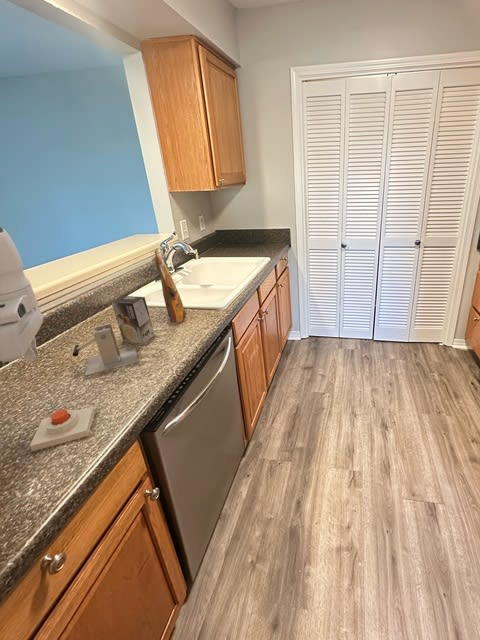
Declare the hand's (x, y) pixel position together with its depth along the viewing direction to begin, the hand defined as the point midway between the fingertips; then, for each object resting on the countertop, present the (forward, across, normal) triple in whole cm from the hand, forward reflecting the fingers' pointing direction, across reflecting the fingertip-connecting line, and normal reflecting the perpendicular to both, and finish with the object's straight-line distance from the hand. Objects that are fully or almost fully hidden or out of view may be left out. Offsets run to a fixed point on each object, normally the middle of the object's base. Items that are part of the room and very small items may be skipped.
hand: (32, 357), depth 73 cm
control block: (+18, +5, +2) cm, 19 cm away
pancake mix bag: (+18, -49, +34) cm, 62 cm away
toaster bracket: (+18, -22, +11) cm, 31 cm away
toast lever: (+10, -22, +8) cm, 26 cm away
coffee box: (+18, -35, +19) cm, 44 cm away
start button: (+15, +5, +2) cm, 16 cm away
